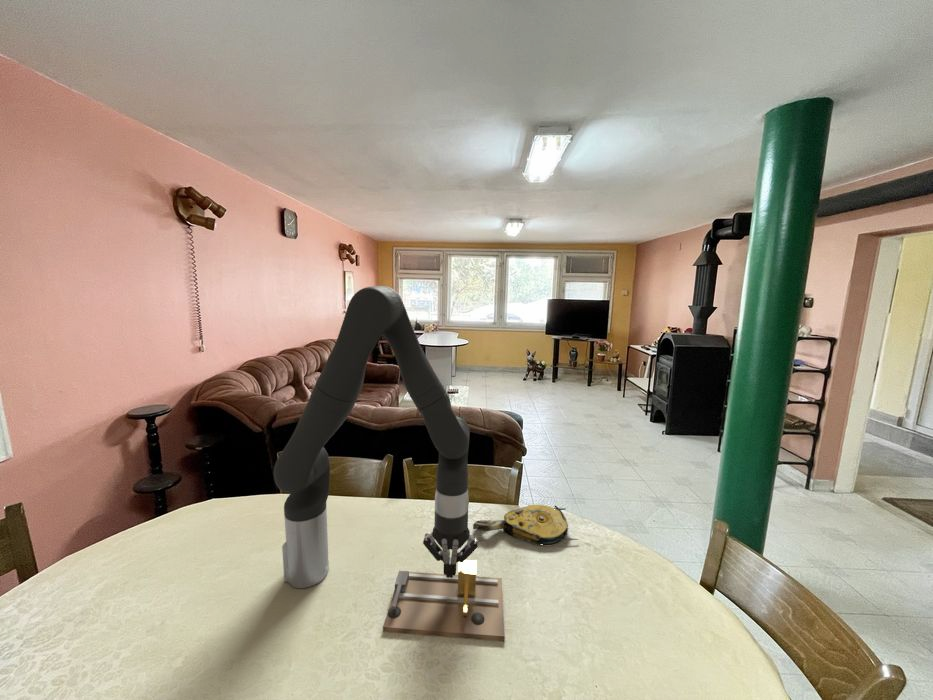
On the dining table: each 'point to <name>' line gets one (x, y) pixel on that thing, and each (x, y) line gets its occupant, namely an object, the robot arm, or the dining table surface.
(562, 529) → the pulley block
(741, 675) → the dining table surface
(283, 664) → the dining table surface
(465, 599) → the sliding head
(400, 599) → the gauge board
